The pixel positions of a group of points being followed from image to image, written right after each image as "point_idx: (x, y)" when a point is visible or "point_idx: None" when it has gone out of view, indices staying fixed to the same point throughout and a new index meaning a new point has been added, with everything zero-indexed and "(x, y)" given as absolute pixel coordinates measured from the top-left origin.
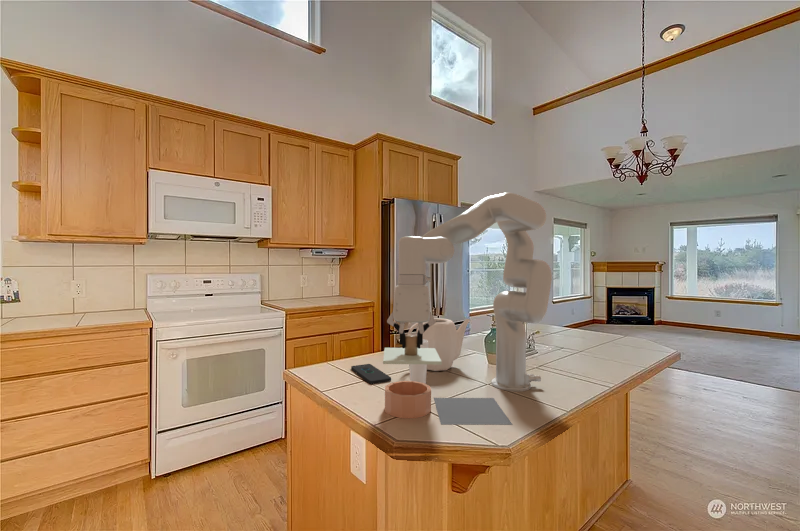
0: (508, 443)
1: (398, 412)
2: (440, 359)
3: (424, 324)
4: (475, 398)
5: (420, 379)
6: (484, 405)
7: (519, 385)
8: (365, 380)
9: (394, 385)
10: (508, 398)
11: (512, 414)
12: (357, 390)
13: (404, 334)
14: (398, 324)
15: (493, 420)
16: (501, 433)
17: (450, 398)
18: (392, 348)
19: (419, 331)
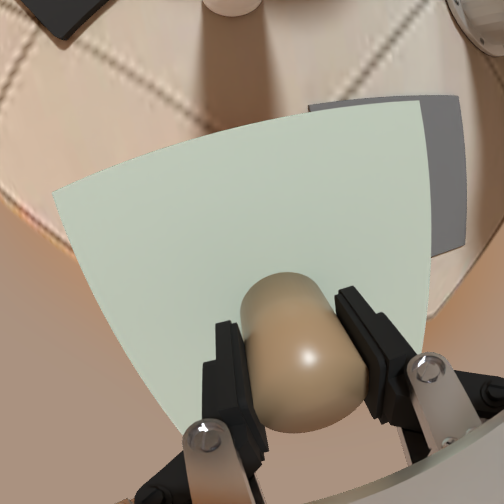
0: (436, 308)
1: None
2: (421, 346)
3: (479, 416)
4: (423, 99)
5: (249, 4)
6: (440, 149)
7: (501, 44)
8: (43, 24)
9: None
10: (479, 90)
11: (475, 185)
12: (41, 109)
13: (263, 452)
14: (185, 502)
15: (442, 235)
16: (439, 278)
17: (361, 104)
18: (108, 198)
19: (399, 422)
